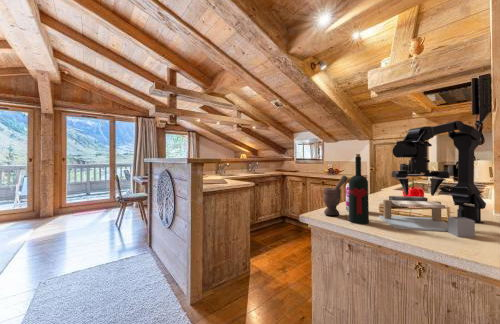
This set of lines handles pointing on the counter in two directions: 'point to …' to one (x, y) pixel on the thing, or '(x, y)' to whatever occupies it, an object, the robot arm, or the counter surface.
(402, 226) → the frame
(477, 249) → the counter surface
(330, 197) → the mortar and pestle
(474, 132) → the robot arm
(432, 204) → the trapdoor
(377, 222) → the counter surface
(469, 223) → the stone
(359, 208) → the wine bottle
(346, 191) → the supplement can
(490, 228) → the counter surface
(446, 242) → the counter surface
